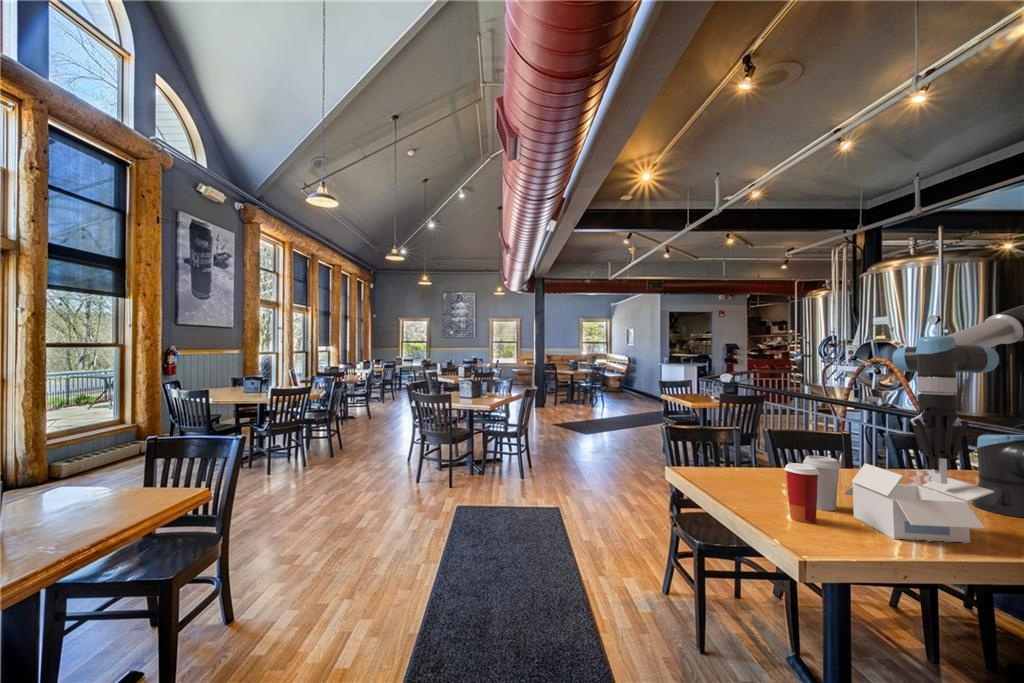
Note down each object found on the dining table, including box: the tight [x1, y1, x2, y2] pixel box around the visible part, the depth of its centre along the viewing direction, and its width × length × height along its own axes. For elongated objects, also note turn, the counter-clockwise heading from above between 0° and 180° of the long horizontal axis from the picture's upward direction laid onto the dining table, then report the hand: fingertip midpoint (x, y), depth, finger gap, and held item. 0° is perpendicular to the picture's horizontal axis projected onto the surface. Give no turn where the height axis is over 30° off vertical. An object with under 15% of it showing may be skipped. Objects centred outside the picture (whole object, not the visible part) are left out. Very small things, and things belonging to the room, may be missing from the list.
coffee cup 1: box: [783, 462, 819, 524], centre depth 120 cm, size 8×8×15 cm
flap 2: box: [921, 476, 994, 503], centre depth 112 cm, size 6×14×1 cm, turn 174°
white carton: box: [844, 482, 986, 544], centre depth 113 cm, size 17×25×10 cm
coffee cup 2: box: [802, 455, 842, 512], centre depth 130 cm, size 10×10×15 cm
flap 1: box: [851, 463, 905, 497], centre depth 114 cm, size 6×14×1 cm
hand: (939, 482), depth 112 cm, fingers closed
